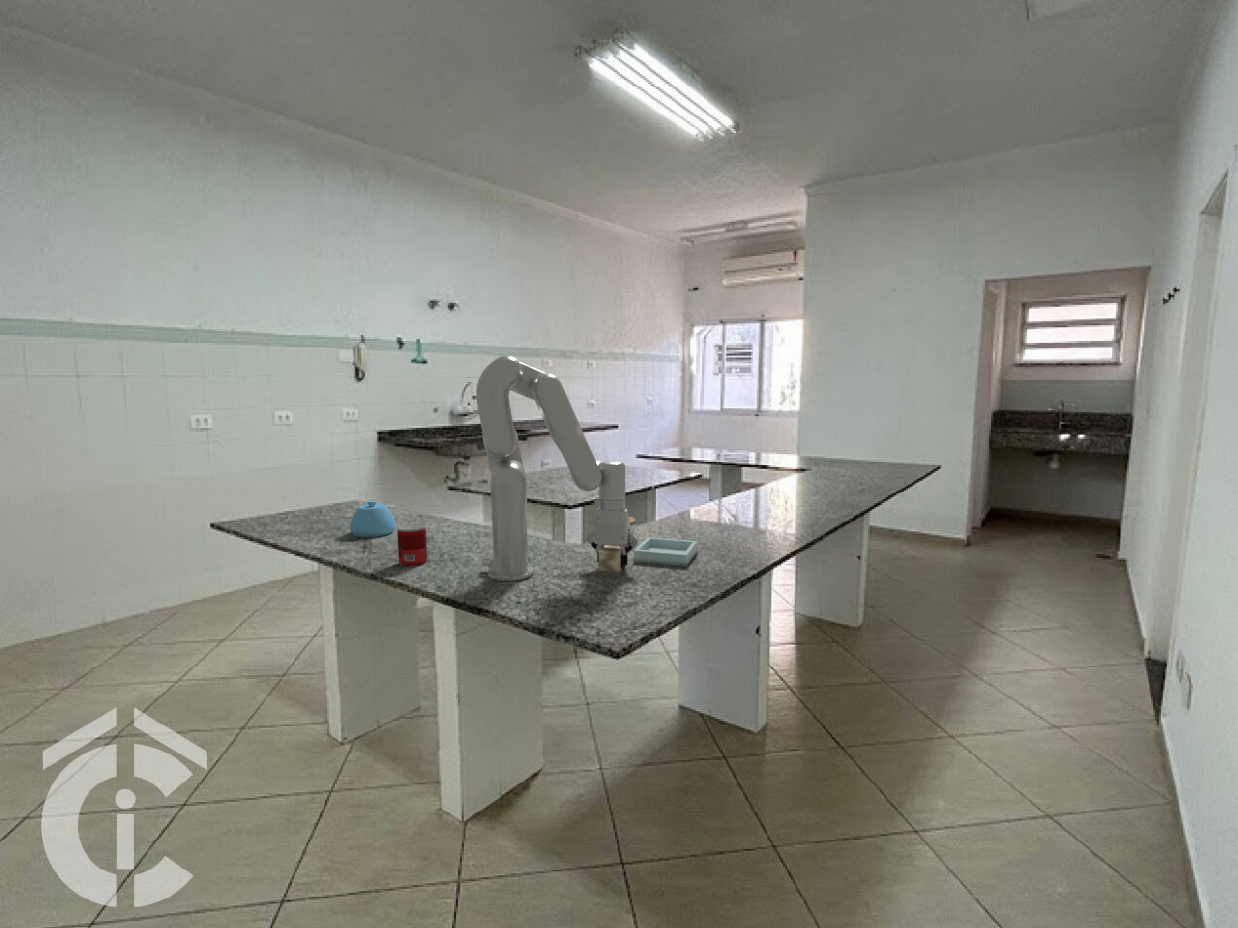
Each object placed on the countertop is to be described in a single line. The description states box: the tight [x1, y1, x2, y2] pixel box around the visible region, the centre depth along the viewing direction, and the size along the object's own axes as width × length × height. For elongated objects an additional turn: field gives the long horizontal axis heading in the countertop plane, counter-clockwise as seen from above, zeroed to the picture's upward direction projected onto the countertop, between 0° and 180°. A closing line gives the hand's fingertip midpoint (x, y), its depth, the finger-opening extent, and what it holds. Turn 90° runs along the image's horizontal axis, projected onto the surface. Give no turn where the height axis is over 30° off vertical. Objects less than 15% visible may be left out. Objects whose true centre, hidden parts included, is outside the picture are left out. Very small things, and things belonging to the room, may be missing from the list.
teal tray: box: [633, 537, 698, 568], centre depth 189 cm, size 16×16×4 cm
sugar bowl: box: [349, 500, 397, 538], centre depth 218 cm, size 15×15×12 cm
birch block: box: [598, 545, 623, 573], centre depth 177 cm, size 6×6×6 cm
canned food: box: [396, 523, 428, 567], centre depth 183 cm, size 8×8×11 cm
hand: (612, 565), depth 178 cm, fingers closed on birch block, 6 cm apart
